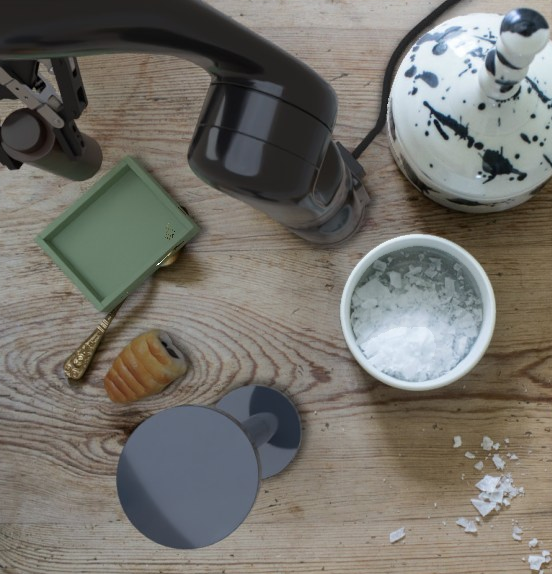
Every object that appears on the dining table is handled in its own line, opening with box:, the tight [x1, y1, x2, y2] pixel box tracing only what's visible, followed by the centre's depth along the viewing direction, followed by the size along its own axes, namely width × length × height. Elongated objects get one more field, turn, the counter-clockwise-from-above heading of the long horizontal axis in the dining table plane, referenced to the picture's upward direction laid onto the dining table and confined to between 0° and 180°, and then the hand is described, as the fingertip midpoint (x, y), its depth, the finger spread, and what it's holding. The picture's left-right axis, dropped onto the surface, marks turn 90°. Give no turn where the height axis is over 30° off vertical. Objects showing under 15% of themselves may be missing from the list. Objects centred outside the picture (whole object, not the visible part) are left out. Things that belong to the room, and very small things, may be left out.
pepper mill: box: [0, 106, 104, 183], centre depth 61 cm, size 5×5×10 cm
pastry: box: [103, 329, 188, 405], centre depth 71 cm, size 9×7×4 cm
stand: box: [115, 383, 303, 550], centre depth 62 cm, size 12×12×21 cm
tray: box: [33, 154, 202, 313], centre depth 72 cm, size 15×12×2 cm
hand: (48, 161), depth 60 cm, fingers closed on pepper mill, 5 cm apart
